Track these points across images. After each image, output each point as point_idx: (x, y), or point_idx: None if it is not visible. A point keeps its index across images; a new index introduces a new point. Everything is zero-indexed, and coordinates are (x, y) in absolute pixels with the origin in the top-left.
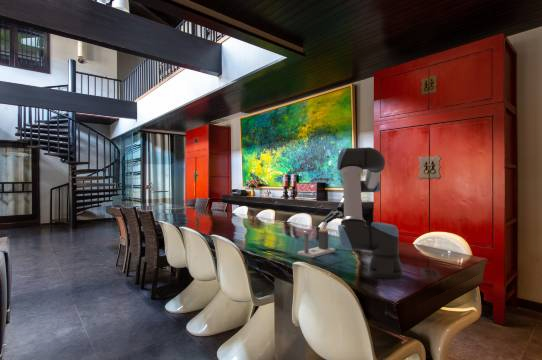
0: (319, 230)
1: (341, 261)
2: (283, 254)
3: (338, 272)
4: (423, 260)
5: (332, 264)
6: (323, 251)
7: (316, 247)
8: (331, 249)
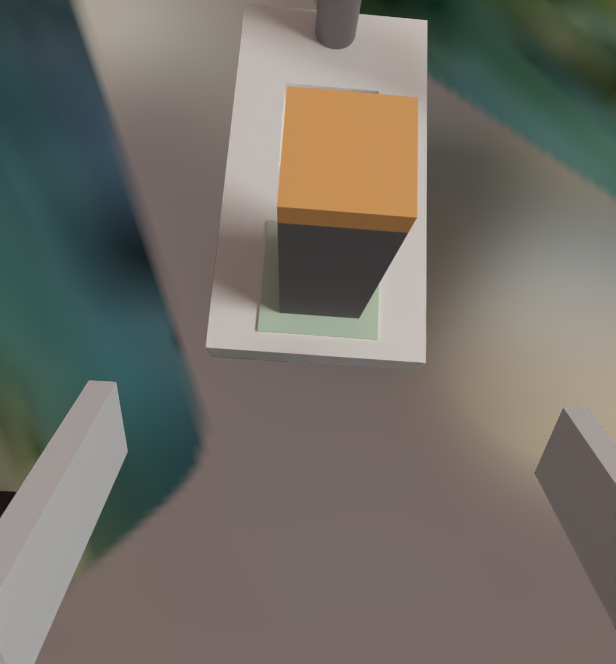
0: (390, 98)
1: (13, 136)
2: (549, 36)
3: None
4: None
5: (36, 23)
6: (237, 164)
7: (413, 272)
8: (221, 295)
